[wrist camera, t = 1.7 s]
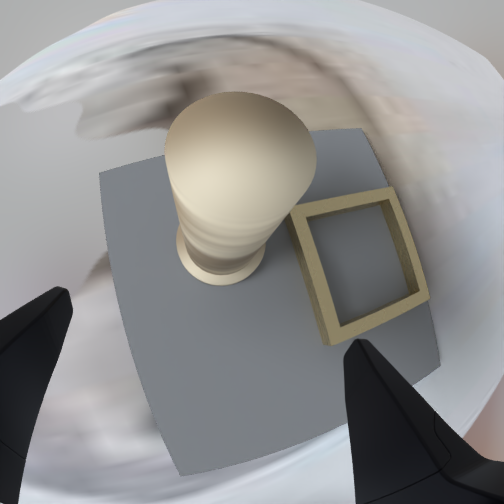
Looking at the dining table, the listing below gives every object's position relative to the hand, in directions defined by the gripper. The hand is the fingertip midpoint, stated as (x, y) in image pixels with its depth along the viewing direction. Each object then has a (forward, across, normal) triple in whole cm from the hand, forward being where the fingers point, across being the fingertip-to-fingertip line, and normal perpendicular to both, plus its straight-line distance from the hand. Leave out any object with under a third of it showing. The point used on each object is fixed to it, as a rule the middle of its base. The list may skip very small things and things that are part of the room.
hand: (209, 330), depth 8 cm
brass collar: (+12, -11, +4) cm, 17 cm away
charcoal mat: (+11, -5, +6) cm, 13 cm away
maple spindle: (+12, 0, +4) cm, 12 cm away
